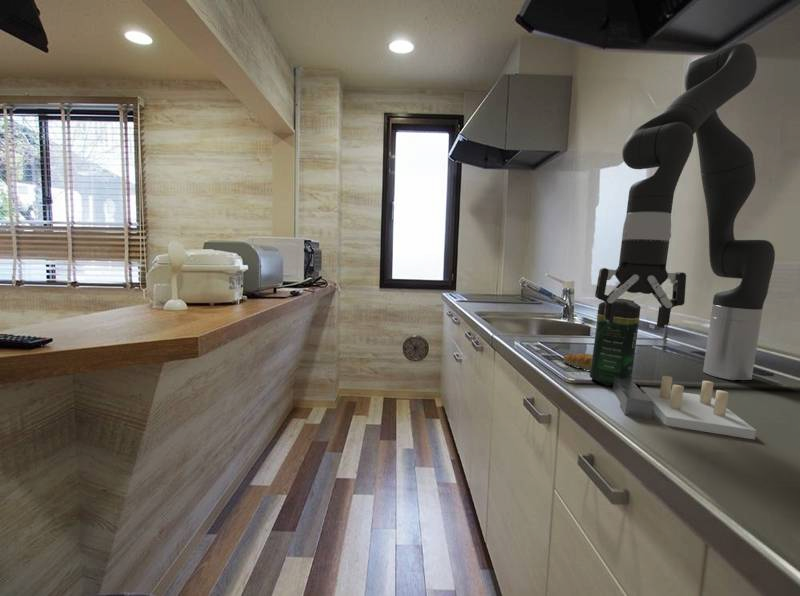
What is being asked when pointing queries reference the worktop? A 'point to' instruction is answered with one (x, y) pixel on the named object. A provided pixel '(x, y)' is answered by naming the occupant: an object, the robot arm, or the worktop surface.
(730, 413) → the rack
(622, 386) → the grey long block
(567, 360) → the pastry
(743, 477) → the worktop surface
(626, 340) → the coffee jar
